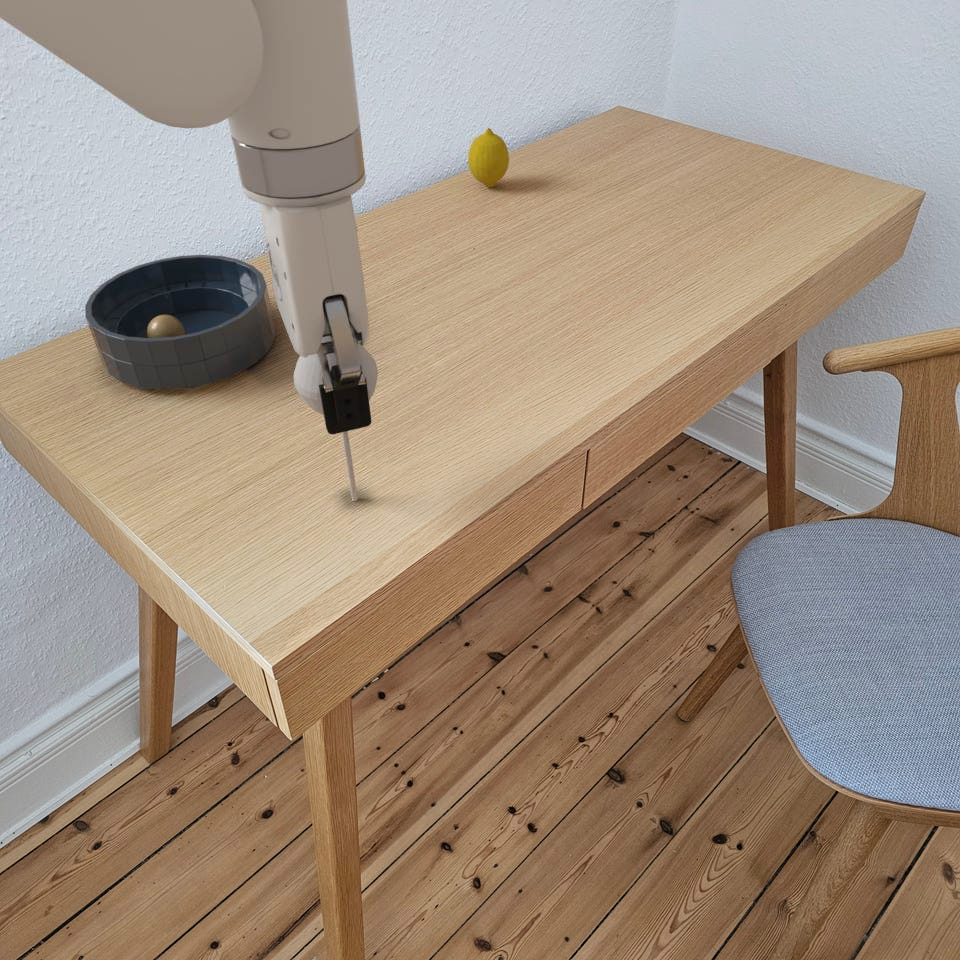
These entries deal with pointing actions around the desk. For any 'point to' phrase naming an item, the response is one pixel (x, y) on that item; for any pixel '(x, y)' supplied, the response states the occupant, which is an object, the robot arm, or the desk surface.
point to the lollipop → (308, 388)
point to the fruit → (488, 158)
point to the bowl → (182, 321)
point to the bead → (165, 327)
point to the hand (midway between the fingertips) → (338, 400)
